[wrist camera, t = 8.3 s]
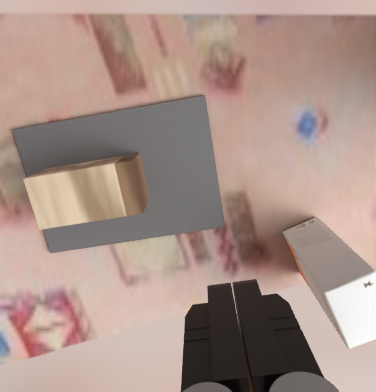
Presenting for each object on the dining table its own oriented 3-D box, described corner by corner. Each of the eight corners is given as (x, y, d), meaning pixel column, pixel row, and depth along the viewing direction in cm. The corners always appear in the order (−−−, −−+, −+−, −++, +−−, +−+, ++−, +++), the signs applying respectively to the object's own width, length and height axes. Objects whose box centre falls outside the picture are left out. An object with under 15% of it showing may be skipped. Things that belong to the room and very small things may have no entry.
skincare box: (280, 231, 35) (322, 291, 24) (316, 215, 35) (377, 268, 23) (299, 275, 37) (348, 351, 25) (335, 260, 36) (401, 332, 25)
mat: (204, 95, 32) (204, 95, 31) (224, 225, 35) (224, 226, 35) (14, 129, 33) (11, 129, 32) (51, 251, 36) (50, 253, 36)
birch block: (130, 160, 28) (23, 178, 29) (142, 213, 29) (39, 229, 30) (140, 153, 33) (47, 168, 33) (149, 198, 34) (60, 212, 35)
